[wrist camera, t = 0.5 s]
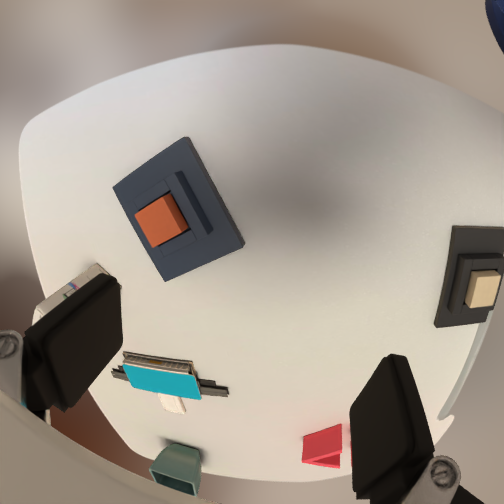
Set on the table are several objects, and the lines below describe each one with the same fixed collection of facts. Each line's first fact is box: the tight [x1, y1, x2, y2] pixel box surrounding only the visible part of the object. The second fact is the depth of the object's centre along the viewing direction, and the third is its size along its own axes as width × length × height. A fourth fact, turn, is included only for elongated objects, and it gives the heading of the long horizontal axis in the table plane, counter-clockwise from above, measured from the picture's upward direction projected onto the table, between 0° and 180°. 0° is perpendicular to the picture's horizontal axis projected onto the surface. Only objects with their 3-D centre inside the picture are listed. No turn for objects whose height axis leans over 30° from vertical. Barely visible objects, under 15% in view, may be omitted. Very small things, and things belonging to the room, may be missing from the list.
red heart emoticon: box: [302, 424, 352, 468], centre depth 35 cm, size 14×10×5 cm
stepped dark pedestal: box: [434, 226, 504, 328], centre depth 24 cm, size 12×8×2 cm, turn 4°
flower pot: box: [149, 443, 201, 497], centre depth 43 cm, size 9×9×9 cm
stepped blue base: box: [112, 137, 245, 282], centre depth 28 cm, size 12×10×3 cm
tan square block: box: [464, 270, 501, 308], centre depth 23 cm, size 4×4×2 cm
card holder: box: [111, 351, 229, 414], centre depth 38 cm, size 20×12×2 cm, turn 95°
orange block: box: [135, 194, 189, 248], centre depth 26 cm, size 4×4×2 cm
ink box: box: [32, 264, 121, 325], centre depth 30 cm, size 8×5×12 cm, turn 141°
